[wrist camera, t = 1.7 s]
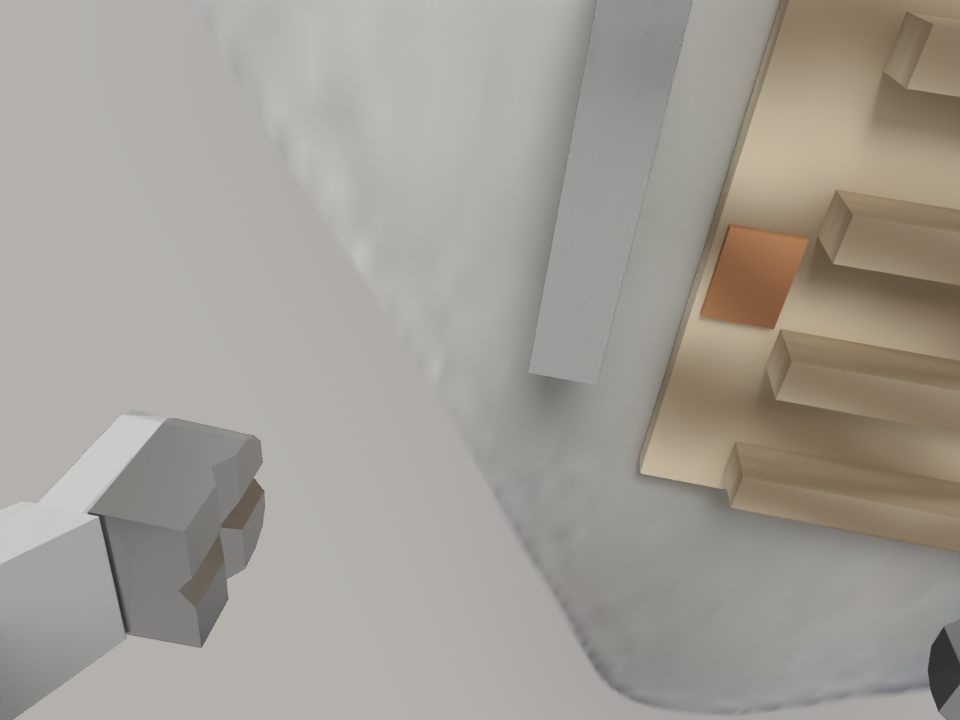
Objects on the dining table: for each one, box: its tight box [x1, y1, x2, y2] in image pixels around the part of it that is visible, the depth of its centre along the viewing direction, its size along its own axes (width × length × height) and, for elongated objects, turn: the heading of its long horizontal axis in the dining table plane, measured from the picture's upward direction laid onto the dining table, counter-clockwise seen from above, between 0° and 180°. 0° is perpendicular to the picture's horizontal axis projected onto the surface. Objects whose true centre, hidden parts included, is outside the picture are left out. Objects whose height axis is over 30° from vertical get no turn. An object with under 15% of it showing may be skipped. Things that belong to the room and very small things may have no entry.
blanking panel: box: [528, 0, 693, 385], centre depth 21 cm, size 12×2×6 cm, turn 173°
